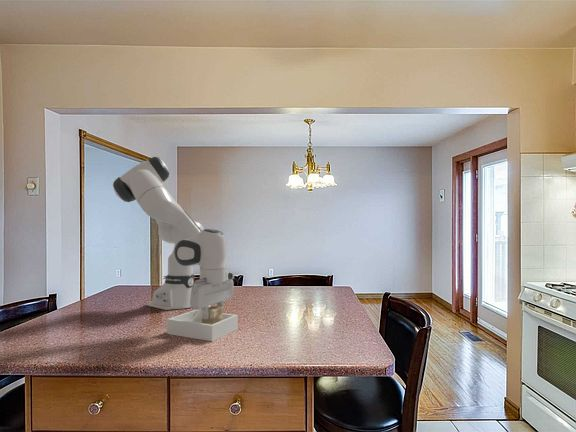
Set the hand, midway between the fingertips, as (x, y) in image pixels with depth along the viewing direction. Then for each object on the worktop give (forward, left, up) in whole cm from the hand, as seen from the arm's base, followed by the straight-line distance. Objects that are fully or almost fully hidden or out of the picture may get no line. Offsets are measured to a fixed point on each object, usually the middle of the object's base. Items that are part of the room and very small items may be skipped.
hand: (212, 316), depth 130 cm
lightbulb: (-8, -3, -4) cm, 10 cm away
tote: (-4, 0, -6) cm, 7 cm away
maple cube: (0, 0, -2) cm, 2 cm away
